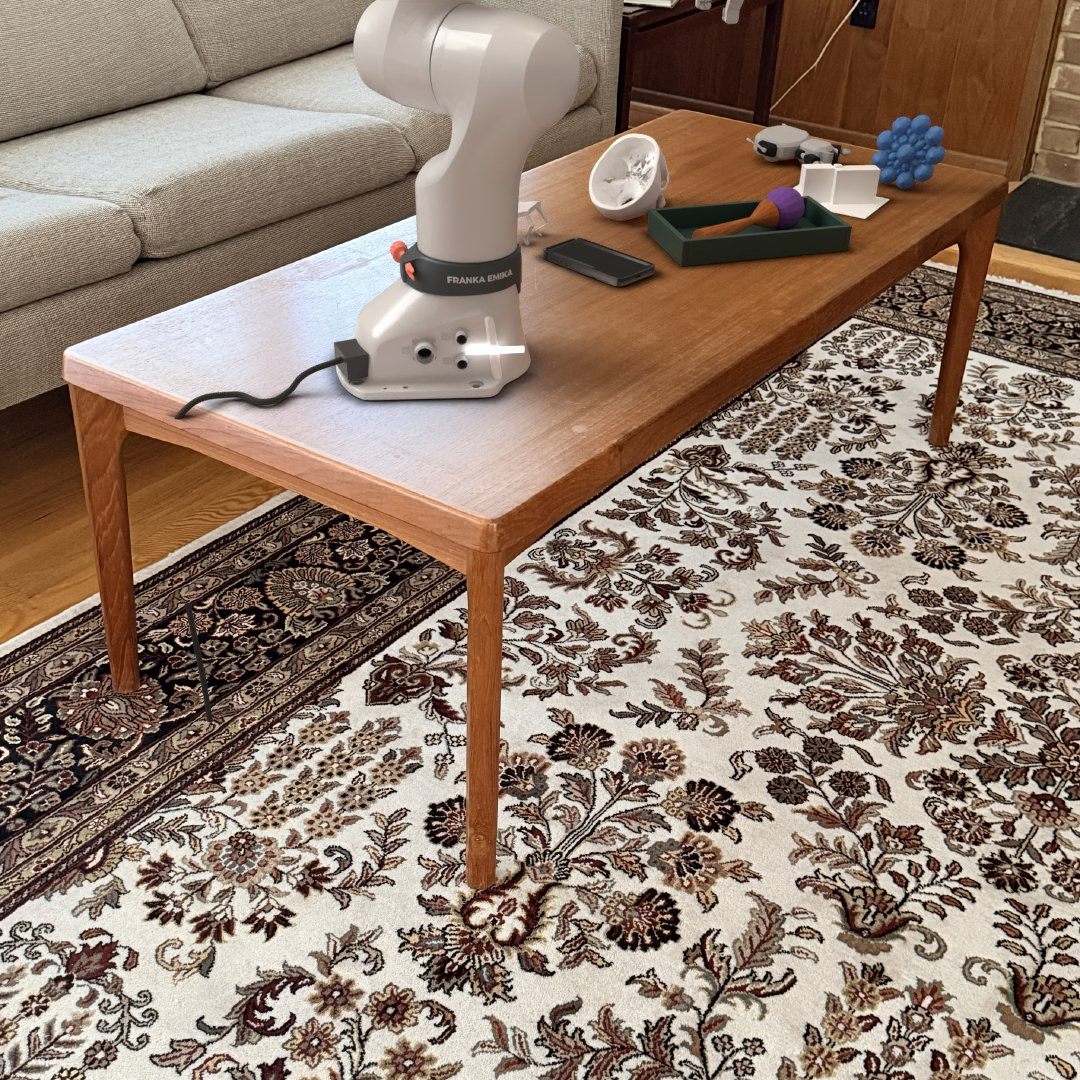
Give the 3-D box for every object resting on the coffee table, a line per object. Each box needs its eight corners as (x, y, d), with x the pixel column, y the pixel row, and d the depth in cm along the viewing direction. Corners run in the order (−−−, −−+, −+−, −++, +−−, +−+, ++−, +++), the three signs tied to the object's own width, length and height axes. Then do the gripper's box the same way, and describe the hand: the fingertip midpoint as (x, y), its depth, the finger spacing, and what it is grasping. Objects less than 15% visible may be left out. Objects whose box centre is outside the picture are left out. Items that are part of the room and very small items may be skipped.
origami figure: (504, 224, 182) (504, 191, 179) (552, 235, 178) (553, 202, 175) (457, 248, 173) (457, 214, 171) (507, 260, 170) (507, 226, 167)
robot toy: (851, 168, 210) (776, 144, 217) (857, 141, 207) (781, 118, 214) (816, 185, 202) (739, 159, 209) (822, 158, 199) (744, 133, 206)
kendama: (683, 217, 172) (780, 180, 181) (687, 259, 175) (783, 220, 184) (713, 222, 167) (811, 183, 177) (717, 264, 170) (814, 224, 180)
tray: (681, 266, 169) (683, 241, 167) (647, 232, 180) (648, 208, 178) (848, 250, 175) (852, 226, 173) (805, 219, 186) (809, 195, 184)
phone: (578, 236, 175) (658, 265, 166) (577, 244, 175) (658, 272, 166) (539, 249, 170) (619, 280, 161) (538, 257, 170) (619, 288, 162)
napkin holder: (890, 198, 194) (896, 162, 191) (865, 219, 186) (872, 181, 183) (801, 181, 201) (806, 146, 198) (774, 200, 193) (778, 164, 190)
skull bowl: (692, 192, 191) (677, 134, 180) (650, 261, 187) (632, 206, 176) (634, 178, 195) (616, 122, 185) (592, 245, 192) (571, 191, 181)
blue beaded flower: (946, 189, 199) (962, 114, 192) (930, 200, 194) (946, 123, 187) (878, 175, 204) (891, 101, 198) (862, 185, 200) (874, 110, 193)
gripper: (674, -107, 167) (667, 1, 175) (735, -87, 151) (723, 32, 159) (717, -108, 169) (708, 0, 176) (781, -88, 152) (768, 30, 160)
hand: (716, 15), depth 167 cm, fingers open, 8 cm apart
